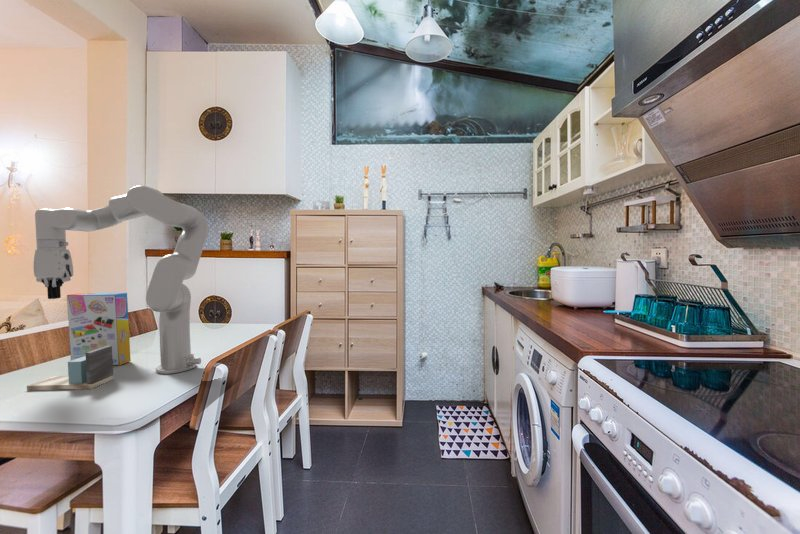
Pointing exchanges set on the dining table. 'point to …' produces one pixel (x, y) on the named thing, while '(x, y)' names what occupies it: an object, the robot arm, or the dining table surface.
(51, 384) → the wooden bookend
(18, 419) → the dining table surface
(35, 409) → the dining table surface
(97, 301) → the game box
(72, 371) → the pale blue upright box
